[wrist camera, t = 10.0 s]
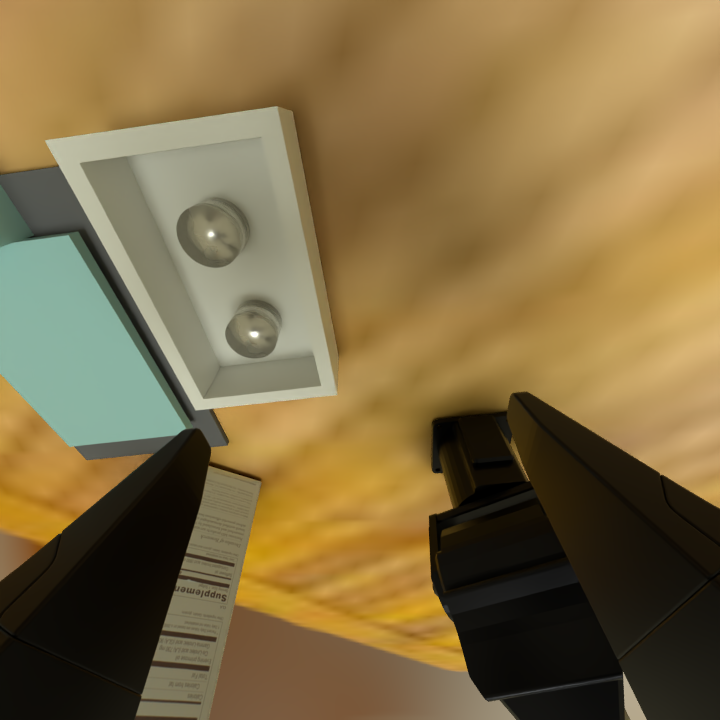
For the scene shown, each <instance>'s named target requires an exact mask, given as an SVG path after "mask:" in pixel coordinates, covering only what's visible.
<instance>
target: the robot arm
mask: <svg viewBox="0 0 720 720" xmlns="http://www.w3.org/2000/svg"><path fill="white" fill-rule="evenodd" d="M438 425H439V426H438ZM512 435H513V438H514V441H515V444H516V446H517V449H518V452H519V455H520V458H521V461H522V463H523V466H524V469H525V471H526V473H527V475H528V478H529V480H530V481H529V480H528V479H527V477H526V475H525V473H524V471H523V469H522V467H521V465H520V463H519V461H518V459H517V457H516V455H515V453H514V451H513V449H512V447H511V446H510V443H511V438H512ZM210 456H211V447H210V445H209V443H208V441H207V439H206V438H205V436H204V434H203V432H202V431H201V429H199V428H189V429H184V430H182V431H181V432H180V433H179V434H177V435H176V436H175V437H174V438H173V439H172V440H170V441H169V442H168V443H167V444H166V445H164V446H163V447H162V448H161V449H160V450H158V451H157V452H156V453H155V454H154V455H152V456H151V457H150V458H149V459H148V460H146V461H145V462H144V463H143V464H142V465H141V466H139V467H138V468H137V469H136V470H135V471H133V472H132V473H131V474H130V475H129V476H127V477H126V478H125V479H124V480H123V481H121V482H120V483H119V484H118V485H117V486H115V487H114V488H113V489H112V490H111V491H110V492H108V493H107V494H106V495H105V496H104V497H102V498H101V499H100V500H99V501H98V502H96V503H95V504H94V505H93V506H92V507H90V508H89V509H88V510H87V511H86V512H84V513H83V514H82V515H81V516H80V517H78V518H77V519H76V520H75V521H74V522H73V523H71V524H70V525H69V526H68V527H67V528H65V529H64V530H63V531H62V534H58V535H57V536H56V537H55V538H53V539H52V540H51V541H50V542H49V543H47V544H46V545H45V546H44V547H43V548H41V549H40V550H39V551H38V552H37V553H35V554H34V555H33V556H32V557H30V558H29V559H28V560H27V561H26V562H24V563H23V564H22V565H21V566H20V567H18V568H17V569H16V570H14V571H13V572H12V573H10V574H9V575H8V576H7V577H5V578H4V579H3V580H1V581H0V720H135V717H136V714H137V711H138V707H139V704H140V701H141V698H142V696H141V694H142V693H143V690H144V687H145V684H146V681H147V677H148V674H149V671H150V668H151V664H152V661H153V658H154V655H155V651H156V648H157V645H158V642H159V638H160V635H161V632H162V629H163V625H164V622H165V619H166V616H167V613H168V609H169V606H170V603H171V600H172V596H173V593H174V590H175V587H176V583H177V580H178V577H179V574H180V570H181V567H182V564H183V561H184V557H185V554H186V551H187V548H188V544H189V541H190V538H191V535H192V531H193V528H194V525H195V522H196V518H197V515H198V512H199V508H200V505H201V501H202V497H203V492H204V487H205V482H206V476H207V471H208V466H209V461H210ZM431 467H432V471H433V472H434V473H443V474H444V478H445V481H446V485H447V488H448V492H449V496H450V499H451V503H452V506H453V509H451V510H448V511H445V512H442V513H440V514H433V515H430V516H429V542H430V563H431V579H432V582H433V590H434V593H435V594H436V595H437V596H438V597H439V599H440V602H441V604H442V606H443V608H444V610H445V612H446V614H447V615H448V617H449V618H450V619H451V620H452V621H453V622H454V624H455V627H456V630H457V633H458V636H459V640H460V643H461V647H462V650H463V654H464V658H465V662H466V665H467V669H468V673H469V676H470V678H471V680H472V681H473V683H474V684H475V685H476V687H477V688H478V690H479V691H480V693H481V694H482V696H483V697H484V698H485V700H487V701H488V702H489V701H495V700H500V701H501V702H502V703H503V705H504V706H505V707H506V708H507V709H508V710H509V712H510V713H511V714H512V715H513V716H514V717H515V719H516V720H630V718H629V716H628V714H627V712H626V710H625V708H624V686H623V672H624V674H625V676H626V678H627V680H628V682H629V684H630V686H631V688H632V690H633V692H634V694H635V696H636V698H637V701H638V703H639V704H640V706H641V709H642V711H643V713H644V715H645V717H646V719H647V720H720V508H718V507H716V506H714V505H712V504H711V503H709V502H707V501H705V500H704V499H702V498H700V497H699V496H697V495H695V494H694V493H692V492H690V491H689V490H687V489H685V488H684V487H682V486H680V485H679V484H677V483H675V482H674V481H672V480H670V479H669V478H667V477H666V476H664V475H661V476H660V473H659V472H657V471H656V470H654V469H652V468H651V467H649V466H647V465H646V464H644V463H643V462H641V461H639V460H638V459H636V458H634V457H633V456H631V455H630V454H628V453H626V452H625V451H623V450H621V449H620V448H618V447H617V446H615V445H613V444H612V443H610V442H608V441H607V440H605V439H604V438H602V437H600V436H599V435H597V434H595V433H594V432H592V431H591V430H589V429H587V428H586V427H584V426H582V425H581V424H579V423H578V422H576V421H574V420H573V419H571V418H569V417H568V416H566V415H565V414H563V413H561V412H560V411H558V410H556V409H555V408H553V407H552V406H550V405H548V404H547V403H545V402H543V401H542V400H540V399H539V398H537V397H535V396H534V395H532V394H530V393H529V392H516V393H512V394H511V396H510V400H509V405H508V410H507V412H501V413H492V414H482V415H473V416H463V417H454V418H445V419H437V420H435V421H433V422H432V461H431Z"/></svg>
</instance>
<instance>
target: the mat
mask: <svg viewBox="0 0 720 720" xmlns="http://www.w3.org/2000/svg"><path fill="white" fill-rule="evenodd" d="M0 185H1V186H2V188H3V189H4V191H5V192H6V194H7V195H8V197H9V198H10V200H11V201H12V203H13V204H14V206H15V207H16V209H17V210H18V212H19V213H20V215H21V216H22V218H23V219H24V221H25V222H26V224H27V225H28V227H29V228H30V230H31V231H32V233H33V234H34V236H32V237H29V238H34V237H41V236H49V235H56V234H63V233H71V232H79V234H80V236H81V237H82V239H83V241H84V243H85V244H86V246H87V248H88V249H89V251H90V253H91V254H92V256H93V258H94V260H95V261H96V263H97V265H98V266H99V268H100V270H101V271H102V273H103V275H104V276H105V278H106V280H107V282H108V283H109V285H110V287H111V288H112V290H113V292H114V293H115V295H116V297H117V299H118V300H119V302H120V304H121V305H122V307H123V309H124V310H125V312H126V314H127V316H128V317H129V319H130V321H131V322H132V324H133V326H134V327H135V329H136V331H137V332H138V334H139V336H140V338H141V339H142V341H143V343H144V344H145V346H146V348H147V349H148V351H149V353H150V355H151V356H152V358H153V360H154V361H155V363H156V365H157V366H158V368H159V370H160V372H161V373H162V375H163V377H164V378H165V380H166V382H167V383H168V385H169V387H170V389H171V390H172V392H173V394H174V395H175V397H176V399H177V400H178V402H179V404H180V405H181V407H182V409H183V411H184V412H185V414H186V416H187V417H188V419H189V421H190V422H191V424H192V426H193V428H199V429H201V431H202V432H203V434H204V436H205V438H206V439H207V441H208V443H209V445H210V447H217V446H227V445H228V443H229V441H228V439H227V437H226V435H225V433H224V431H223V429H222V427H221V425H220V423H219V421H218V420H217V418H216V416H215V414H214V412H213V410H212V409H205V410H195V408H194V407H193V405H192V403H191V401H190V399H189V398H188V396H187V394H186V392H185V391H184V389H183V387H182V385H181V383H180V382H179V380H178V378H177V376H176V374H175V373H174V371H173V369H172V367H171V365H170V364H169V362H168V360H167V358H166V357H165V355H164V353H163V351H162V349H161V348H160V346H159V344H158V342H157V340H156V339H155V337H154V335H153V333H152V331H151V330H150V328H149V326H148V324H147V323H146V321H145V319H144V317H143V315H142V314H141V312H140V310H139V308H138V306H137V305H136V303H135V301H134V299H133V297H132V296H131V294H130V292H129V290H128V289H127V287H126V285H125V283H124V281H123V280H122V278H121V276H120V274H119V272H118V271H117V269H116V267H115V265H114V263H113V262H112V260H111V258H110V256H109V254H108V253H107V251H106V249H105V247H104V246H103V244H102V242H101V240H100V238H99V237H98V235H97V233H96V231H95V229H94V228H93V226H92V224H91V222H90V220H89V219H88V217H87V215H86V213H85V212H84V210H83V208H82V206H81V204H80V203H79V201H78V199H77V197H76V195H75V194H74V192H73V190H72V188H71V186H70V185H69V183H68V181H67V179H66V178H65V176H64V174H63V172H62V170H61V169H60V167H52V168H45V169H38V170H31V171H24V172H18V173H11V174H4V175H0ZM175 436H176V435H174V436H165V437H156V438H147V439H137V440H128V441H119V442H109V443H100V444H91V445H82V446H74V447H75V448H76V449H77V450H78V451H79V452H80V453H81V454H82V455H83V457H84V458H85V459H86V460H94V459H103V458H113V457H122V456H132V455H141V454H151V453H156V452H157V451H158V450H160V449H161V448H162V447H163V446H164V445H166V444H167V443H168V442H169V441H170V440H172V439H173V438H174V437H175Z"/></svg>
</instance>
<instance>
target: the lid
mask: <svg viewBox="0 0 720 720" xmlns="http://www.w3.org/2000/svg"><path fill="white" fill-rule="evenodd" d="M32 236H34V234H33V233H32V231H31V230H30V228H29V227H28V225H27V224H26V222H25V221H24V219H23V218H22V216H21V215H20V213H19V212H18V210H17V209H16V207H15V206H14V204H13V203H12V201H11V200H10V198H9V197H8V195H7V194H6V192H5V191H4V189H3V188H2V186H1V185H0V374H1V375H2V376H3V377H4V378H5V379H6V380H7V381H8V382H9V383H10V384H11V385H12V386H13V387H14V389H15V390H16V391H17V392H18V393H19V394H20V395H21V396H22V397H23V398H24V399H25V400H26V401H27V402H28V403H29V404H30V405H31V406H32V408H33V409H34V410H35V411H36V412H37V413H38V414H39V415H40V416H41V417H42V418H43V419H44V420H45V421H46V422H47V423H48V424H49V425H50V427H51V428H52V429H53V430H54V431H55V432H56V433H57V434H58V435H59V436H60V437H61V438H62V439H63V440H64V441H65V442H66V443H67V444H68V446H69V447H72V446H82V445H91V444H100V443H109V442H119V441H128V440H137V439H147V438H156V437H165V436H174V435H177V434H179V433H180V432H181V431H182V430H184V429H189V428H193V426H192V424H191V422H190V421H189V419H188V417H187V416H186V414H185V412H184V411H183V409H182V407H181V405H180V404H179V402H178V400H177V399H176V397H175V395H174V394H173V392H172V390H171V389H170V387H169V385H168V383H167V382H166V380H165V378H164V377H163V375H162V373H161V372H160V370H159V368H158V366H157V365H156V363H155V361H154V360H153V358H152V356H151V355H150V353H149V351H148V349H147V348H146V346H145V344H144V343H143V341H142V339H141V338H140V336H139V334H138V332H137V331H136V329H135V327H134V326H133V324H132V322H131V321H130V319H129V317H128V316H127V314H126V312H125V310H124V309H123V307H122V305H121V304H120V302H119V300H118V299H117V297H116V295H115V293H114V292H113V290H112V288H111V287H110V285H109V283H108V282H107V280H106V278H105V276H104V275H103V273H102V271H101V270H100V268H99V266H98V265H97V263H96V261H95V260H94V258H93V256H92V254H91V253H90V251H89V249H88V248H87V246H86V244H85V243H84V241H83V239H82V237H81V236H80V234H79V232H71V233H63V234H56V235H49V236H41V237H34V238H29V237H32Z"/></svg>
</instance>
